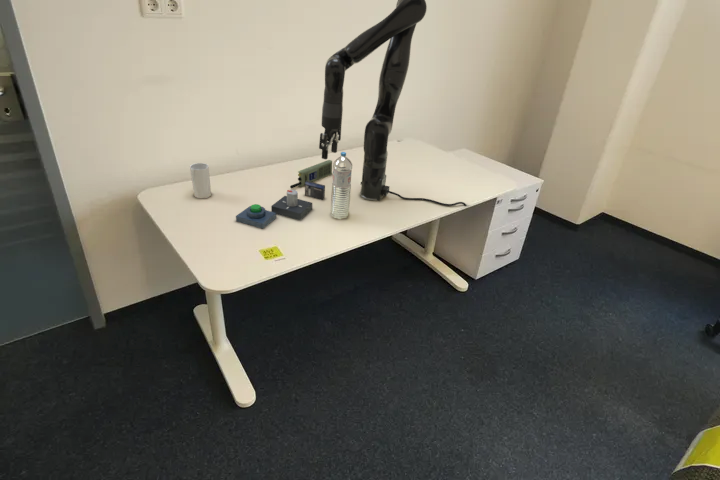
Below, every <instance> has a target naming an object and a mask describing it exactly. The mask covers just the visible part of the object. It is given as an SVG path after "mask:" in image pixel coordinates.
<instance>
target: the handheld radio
mask: <svg viewBox="0 0 720 480" xmlns="http://www.w3.org/2000/svg"><path fill="white" fill-rule="evenodd" d="M297 173H298V174H297V176H298V178H297V181H298V182H296V183H294V184H291V185H290V186H289V188H290V190H293V189H294V188H296V187H299V188H302V187H305V182H306V181H310V182H314V183H316V182H317V181H319V180H322V179H324V178H326V177H329V176H331V175H333V160H332V159H326V160H325V161H322V162H319V163H316V164H314V165H311V166H309V167H306V168H303V169H301V170H298V171H297Z"/></svg>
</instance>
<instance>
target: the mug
mask: <svg viewBox="0 0 720 480" xmlns="http://www.w3.org/2000/svg"><path fill="white" fill-rule="evenodd" d="M209 167H210V166H209V164H207V163H205V162H196V163H192V164H190V166H189V171H190V177H191V183H192V190H193V195H194V197H195V198H196V199H207V198H210V197H211V196H212V188H211V178H210V176H211V175H210V168H209Z"/></svg>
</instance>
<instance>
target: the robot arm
mask: <svg viewBox="0 0 720 480" xmlns="http://www.w3.org/2000/svg"><path fill="white" fill-rule="evenodd" d="M395 5H396V6H395V8H394V10H392V11H391V13H389V14H388V15H387V16H386V17H385V18H383V19H382V20H381V21H379V22H378V23H376V24H374V25H373V26H371V27H369V28H367V29H366V30H364V31H363V32H361V33H360V34H358V36H356V37H355V38H354V39H352V40H350V42H348V43H347V45H345V46H344V47H343V48H341V49H339V50H338V51H336V52H335V53H333V54H332V55H331V56H330V57H329V58H328V59H327V60H326V62H325V66H324V89H323V102H322V110H321V127H322V128H324V132H320V134H319V144H318V149H319V150H321V159H323V160H328V158H329V148H330V146H331V149H330V151H331V153H334V154H336V153H337V152H338V144H339V142H340V141H341V138H342V123H343V111H344V109H343V108H344V106H343V103H344V102H343V101H344V83H345V76H346V71H348V69H350V68H351V67H352V66H354V65H356V64H359V63H361V62H362V61H363V60H364V59H366V58H367V57H369V56H370V55H371V54H372V53H373V52H375V51H376V50H377V49H379V48H380V47H381V46H383V45H384V44H385V43H387V42H388V41H389V42H388V44H387V48H386V51H385V54H384V58H383V61H382V65H381V69H380V73H379V78H378V93H377V95H378V96H377V102H376V105H375V109H374V111H373V114H372V117H371V118H370V119H369V120H368V121H367V122H366V125H365V128H364V133H363V134H364V135H363V136H364V137H363V163H362V174H361V175H362V176H361V181H360V198H362V199H364V200H366V201H371V202H374V201H376V202H381V200H382V199H383V198H384V197H387V195H388V194H391V195H394V196H397V197H399V198H400V199H402V200H405V201H425V202H431V203H434V204H437V205H441V206H445V207H452V206H453V207H454V206H457V205H463V206H465V207H467V204H466V203H465V202H463V201H457V202H453V203H446V202H445V203H444V202H439V201H437V200H434V199H430V198H424V197H405V196H402V195H401V194H399V193H397V192H394V191H391V190H390V186H389V185H386V182H387V174H386V171H387V162H388V155H389V153H388V144H389V143H388V142H389V136H390V134H391V133H392V130H393V126H394V125H393V124H394V118H395V113H396V108H397V104H398V101H399V99H400V96H401V93H402V91H403V87H404V84H405V81H406V78H407V75H408V72H409V65H410V58H411V48H412V40H413V37H414V33H415V30H416V26H417V24H418V23H420V22H422V20H423V19H424V18H425V15H426V13H427V10H428V9H427V8H428V7H427V2H426V0H397V1H396V4H395Z"/></svg>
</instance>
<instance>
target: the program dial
mask: <svg viewBox="0 0 720 480" xmlns="http://www.w3.org/2000/svg"><path fill="white" fill-rule="evenodd" d="M286 196H287V205H288V206H291V207H294V206H297V205H298V199H299V198H298V196H299V193H298V190H295V189H287V191H286Z"/></svg>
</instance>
